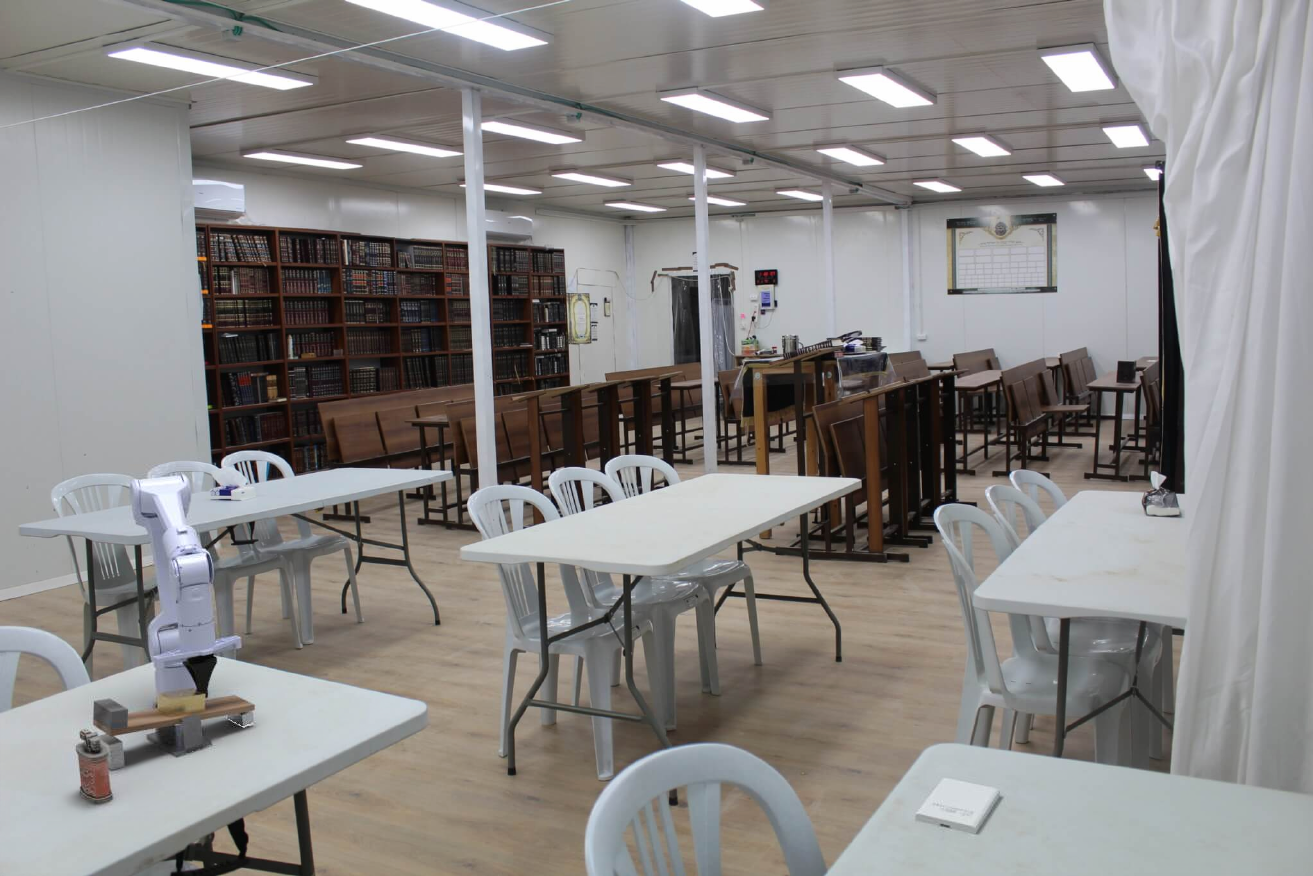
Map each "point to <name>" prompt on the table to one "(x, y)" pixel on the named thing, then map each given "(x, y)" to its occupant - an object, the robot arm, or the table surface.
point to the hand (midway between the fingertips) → (202, 697)
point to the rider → (181, 702)
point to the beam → (158, 715)
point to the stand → (171, 737)
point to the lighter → (93, 768)
